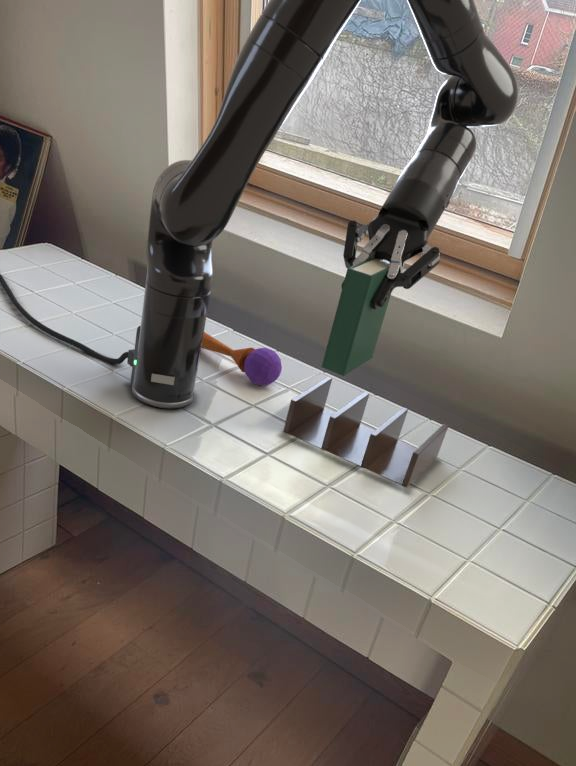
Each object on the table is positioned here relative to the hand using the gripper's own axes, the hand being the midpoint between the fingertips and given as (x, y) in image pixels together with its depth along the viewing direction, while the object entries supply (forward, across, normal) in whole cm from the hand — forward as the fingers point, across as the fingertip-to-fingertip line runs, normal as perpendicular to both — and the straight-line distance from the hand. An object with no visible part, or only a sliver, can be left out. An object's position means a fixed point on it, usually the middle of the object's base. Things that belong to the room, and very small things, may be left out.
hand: (359, 300), depth 109 cm
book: (+5, 0, +8) cm, 10 cm away
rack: (+14, +5, +16) cm, 22 cm away
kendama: (+8, -23, +22) cm, 33 cm away
